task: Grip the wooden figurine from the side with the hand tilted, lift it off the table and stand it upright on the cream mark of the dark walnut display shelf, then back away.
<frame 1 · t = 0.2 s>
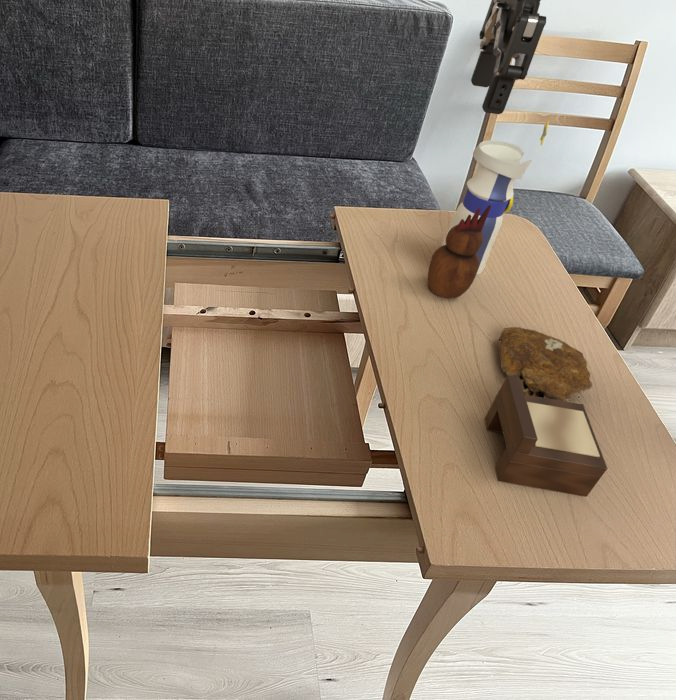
hand: (485, 98, 78), 33 cm above the table, tool pointing down, fingers open, 8 cm apart
water bottle: (460, 262, 114), on the table
wooden figurine: (443, 292, 107), on the table
decorative rock: (538, 378, 93), on the table
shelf: (533, 455, 82), on the table
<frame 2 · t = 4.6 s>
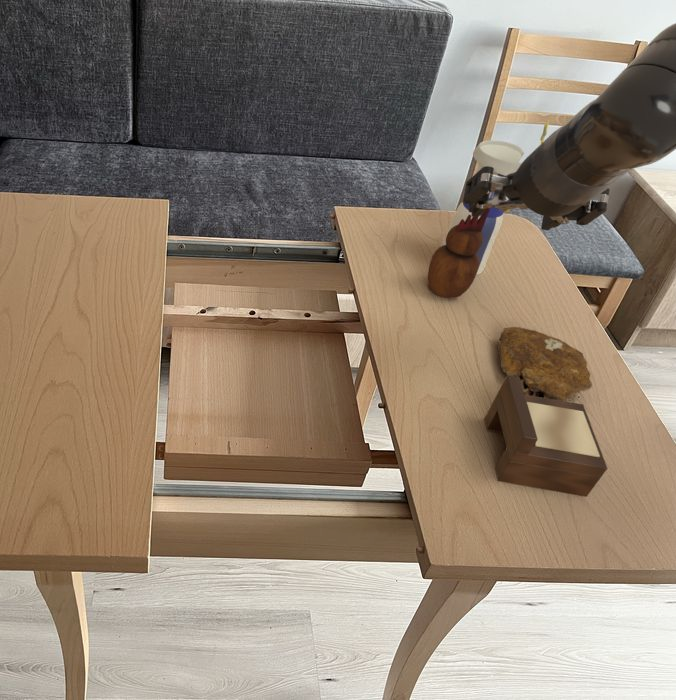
hand: (510, 215, 85), 20 cm above the table, tool tilted 45°, fingers open, 8 cm apart
nothing on the table moved.
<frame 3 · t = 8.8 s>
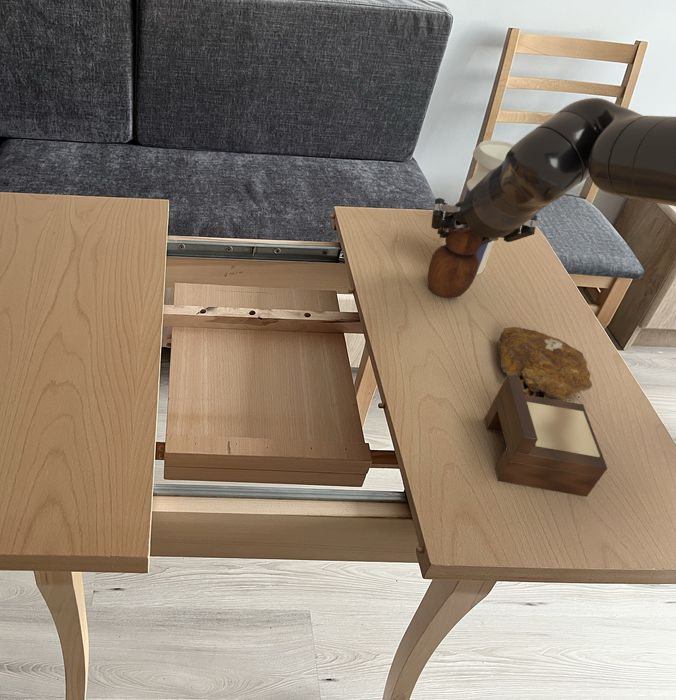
hand: (462, 234, 102), 9 cm above the table, tool tilted 45°, fingers closed on wooden figurine, 5 cm apart
wooden figurine: (443, 292, 107), on the table, touching gripper
everything else where it was.
when the fingers open (14 cm above the table, at t = 19.0 s): wooden figurine stays where it is, resting on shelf.
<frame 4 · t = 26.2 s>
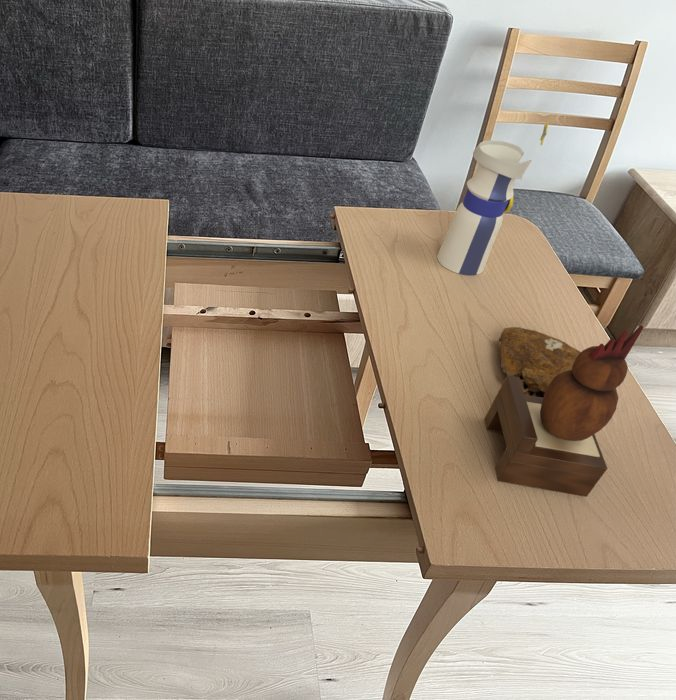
wooden figurine: (560, 430, 79), point 5 cm above the table, touching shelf
everything else where it was.
at the end: wooden figurine 0.2 cm from the target spot on the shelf, point 5.0 cm above the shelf's base; wooden figurine tilted 0°; the gripper is holding nothing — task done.
